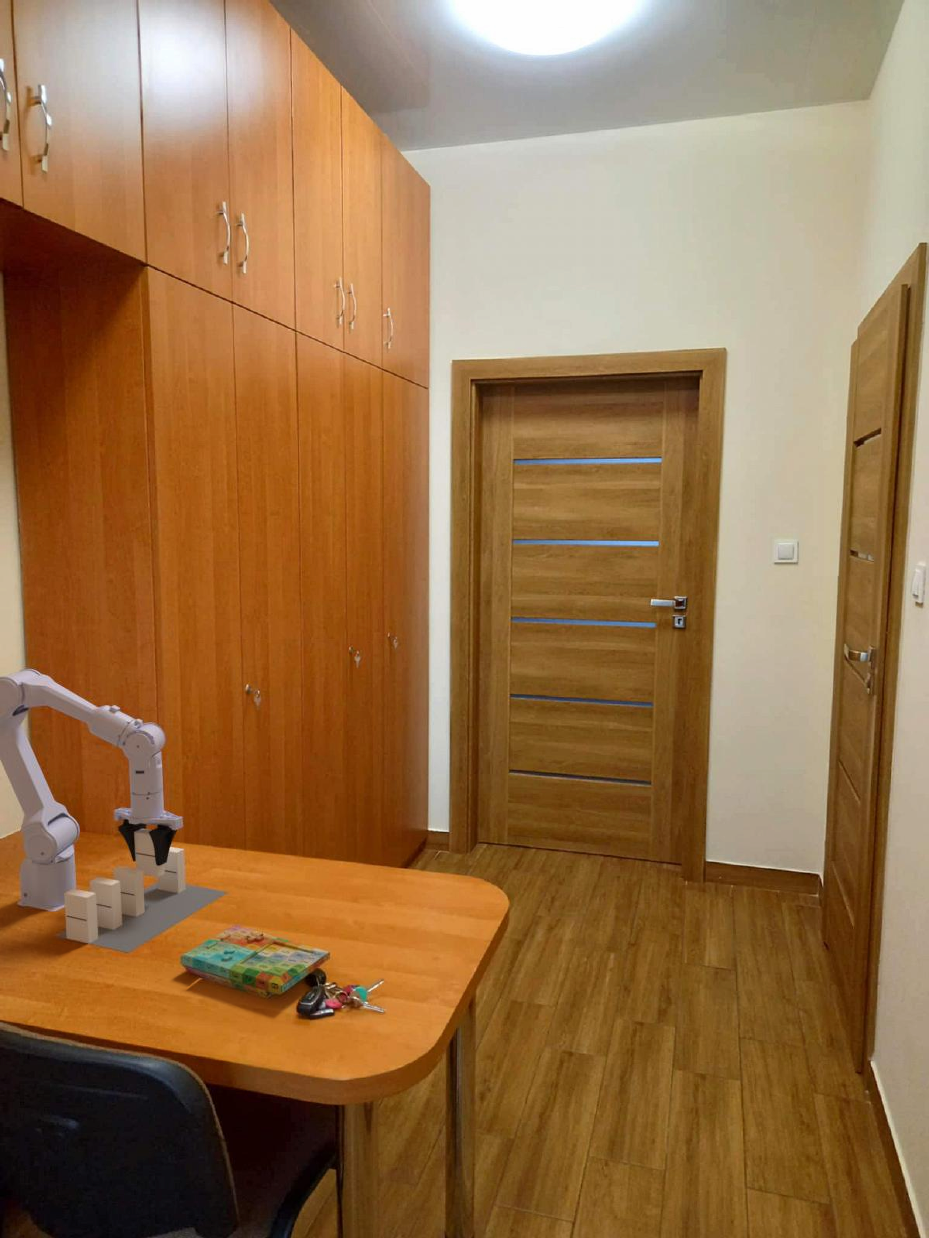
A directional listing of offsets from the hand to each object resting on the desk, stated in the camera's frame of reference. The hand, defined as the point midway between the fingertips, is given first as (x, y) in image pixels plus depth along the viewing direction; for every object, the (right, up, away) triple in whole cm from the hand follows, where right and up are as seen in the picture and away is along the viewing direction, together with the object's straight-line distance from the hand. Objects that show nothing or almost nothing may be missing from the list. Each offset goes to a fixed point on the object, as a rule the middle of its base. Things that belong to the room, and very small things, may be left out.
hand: (149, 861), depth 164 cm
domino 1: (-6, -9, -14) cm, 18 cm away
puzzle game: (+26, -11, -26) cm, 38 cm away
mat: (+1, -9, -4) cm, 10 cm away
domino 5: (+2, -7, +6) cm, 9 cm away
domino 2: (-4, -9, -9) cm, 13 cm away
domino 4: (0, -2, 0) cm, 2 cm away
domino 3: (-2, -8, -4) cm, 9 cm away
